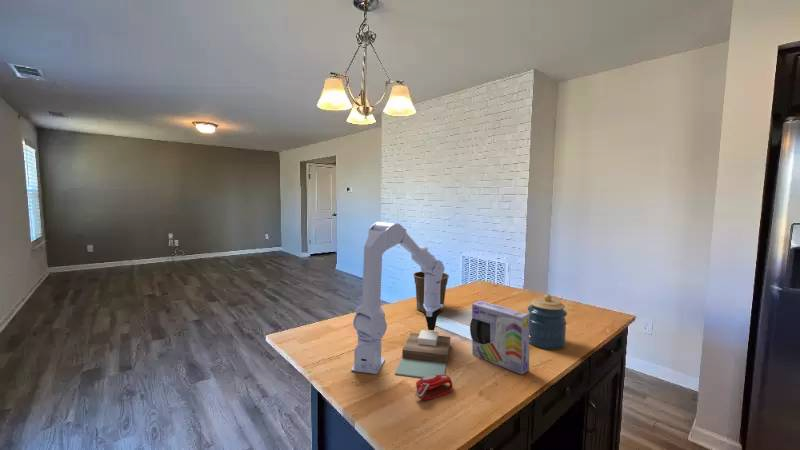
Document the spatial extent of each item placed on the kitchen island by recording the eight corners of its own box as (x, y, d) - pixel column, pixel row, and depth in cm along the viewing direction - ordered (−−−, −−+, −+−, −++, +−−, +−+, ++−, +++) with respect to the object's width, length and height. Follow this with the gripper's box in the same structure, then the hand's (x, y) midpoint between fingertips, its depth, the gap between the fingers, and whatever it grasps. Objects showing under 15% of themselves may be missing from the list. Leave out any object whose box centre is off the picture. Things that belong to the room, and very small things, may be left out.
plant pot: (430, 301, 171) (431, 269, 170) (455, 310, 159) (456, 275, 157) (405, 308, 161) (406, 273, 159) (430, 317, 148) (431, 280, 147)
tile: (435, 345, 113) (436, 339, 113) (417, 343, 115) (417, 338, 115) (438, 337, 120) (438, 331, 120) (421, 335, 122) (421, 330, 121)
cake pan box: (468, 353, 115) (469, 301, 114) (477, 349, 118) (479, 298, 117) (520, 377, 100) (523, 317, 99) (529, 371, 104) (532, 314, 102)
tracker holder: (413, 375, 99) (448, 367, 98) (417, 391, 98) (452, 384, 98) (412, 389, 87) (451, 380, 86) (416, 407, 86) (456, 399, 86)
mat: (443, 380, 98) (443, 379, 98) (394, 374, 101) (394, 373, 101) (446, 364, 107) (446, 363, 107) (401, 359, 110) (401, 358, 110)
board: (446, 364, 107) (446, 354, 107) (402, 358, 110) (402, 349, 110) (450, 345, 121) (450, 336, 121) (410, 341, 124) (410, 332, 124)
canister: (554, 354, 115) (556, 302, 114) (519, 341, 125) (521, 293, 124) (572, 343, 124) (574, 295, 122) (537, 332, 134) (539, 287, 132)
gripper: (441, 299, 116) (440, 338, 117) (445, 288, 130) (444, 323, 131) (420, 297, 117) (419, 336, 118) (426, 286, 131) (425, 321, 132)
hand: (431, 329), depth 125 cm, fingers closed
